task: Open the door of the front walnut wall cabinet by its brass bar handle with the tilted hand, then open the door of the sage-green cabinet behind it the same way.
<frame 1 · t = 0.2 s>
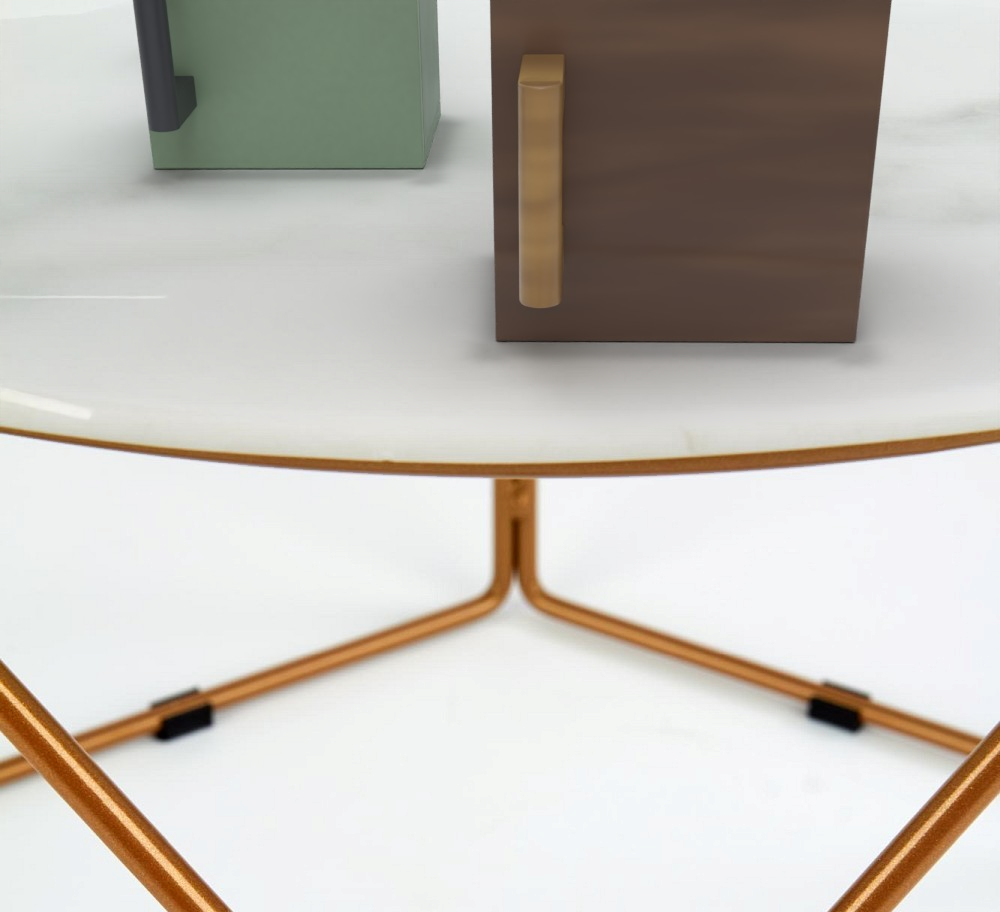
near cabinet: (669, 292, 76), on the table
decorative object: (748, 104, 105), on the table
near door: (685, 178, 65), point 7 cm above the table, hinge at 0.0°
far cabinet: (305, 140, 99), on the table
far door: (269, 35, 87), point 7 cm above the table, hinge at 0.0°
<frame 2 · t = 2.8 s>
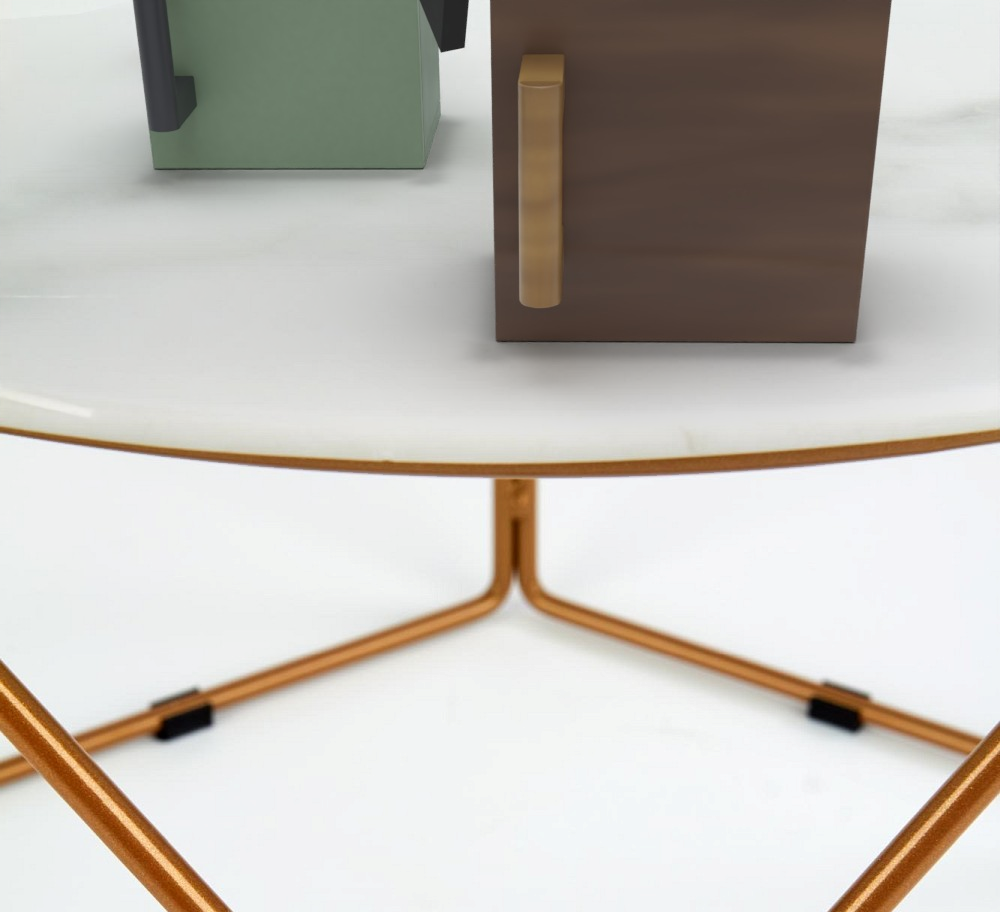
nothing on the table moved.
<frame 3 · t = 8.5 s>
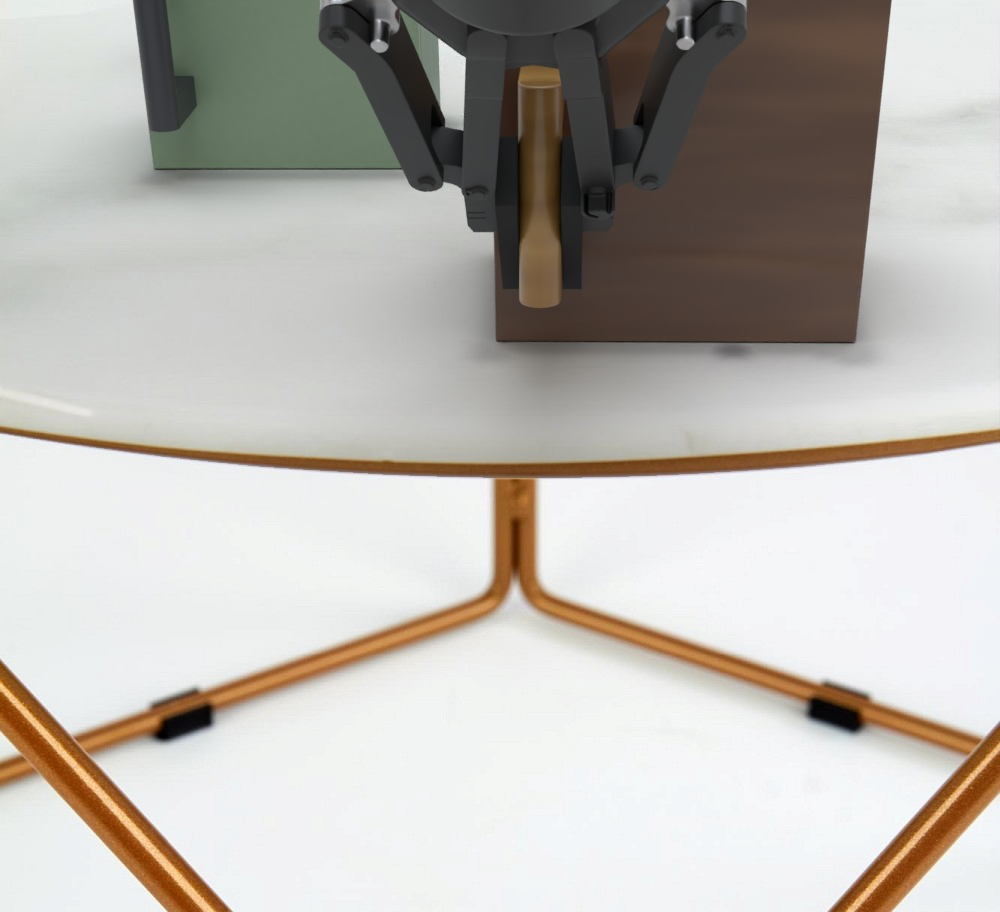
hand: (542, 256, 68), 4 cm above the table, tool tilted 45°, fingers closed on near door, 2 cm apart
near door: (685, 178, 65), point 7 cm above the table, hinge at 0.0°, touching gripper
everything else where it was.
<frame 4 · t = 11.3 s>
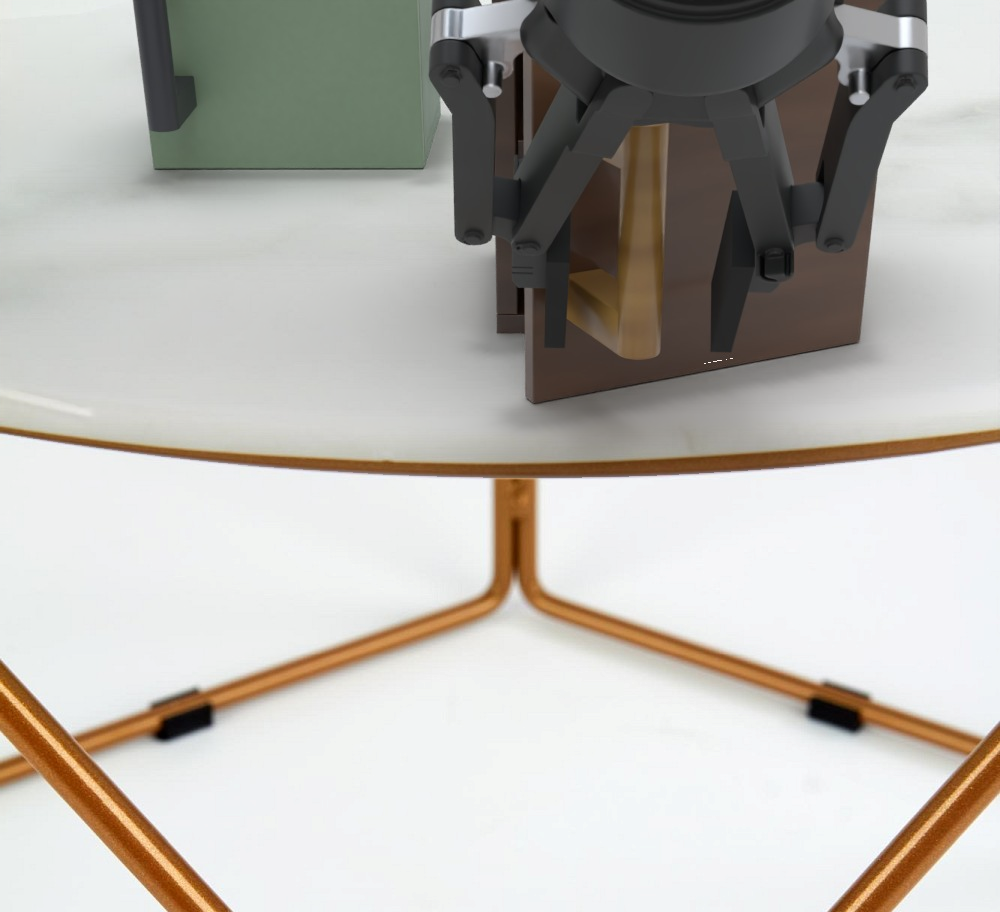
hand: (638, 314, 62), 4 cm above the table, tool tilted 45°, fingers open, 5 cm apart
near door: (744, 202, 62), point 7 cm above the table, hinge at 26.9°, touching gripper
everything else where it was.
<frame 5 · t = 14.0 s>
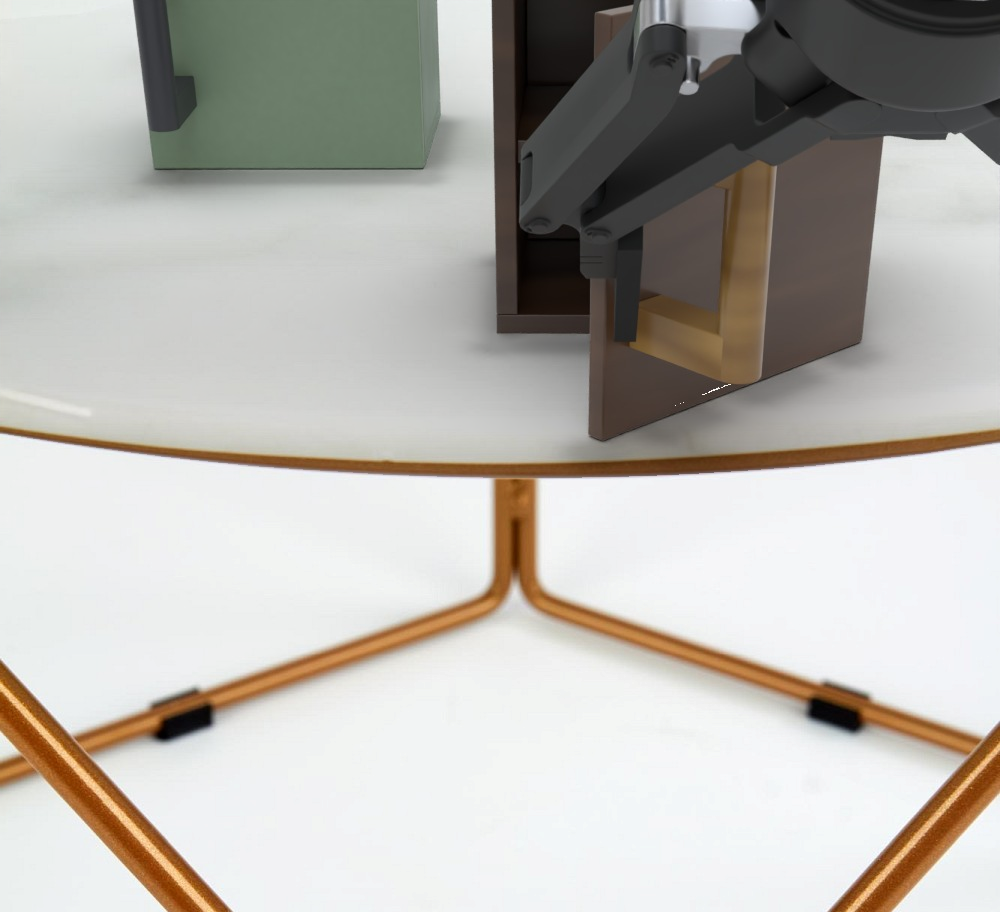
hand: (824, 306, 58), 6 cm above the table, tool tilted 45°, fingers open, 13 cm apart
near door: (800, 212, 61), point 7 cm above the table, hinge at 43.9°, touching gripper
everything else where it was.
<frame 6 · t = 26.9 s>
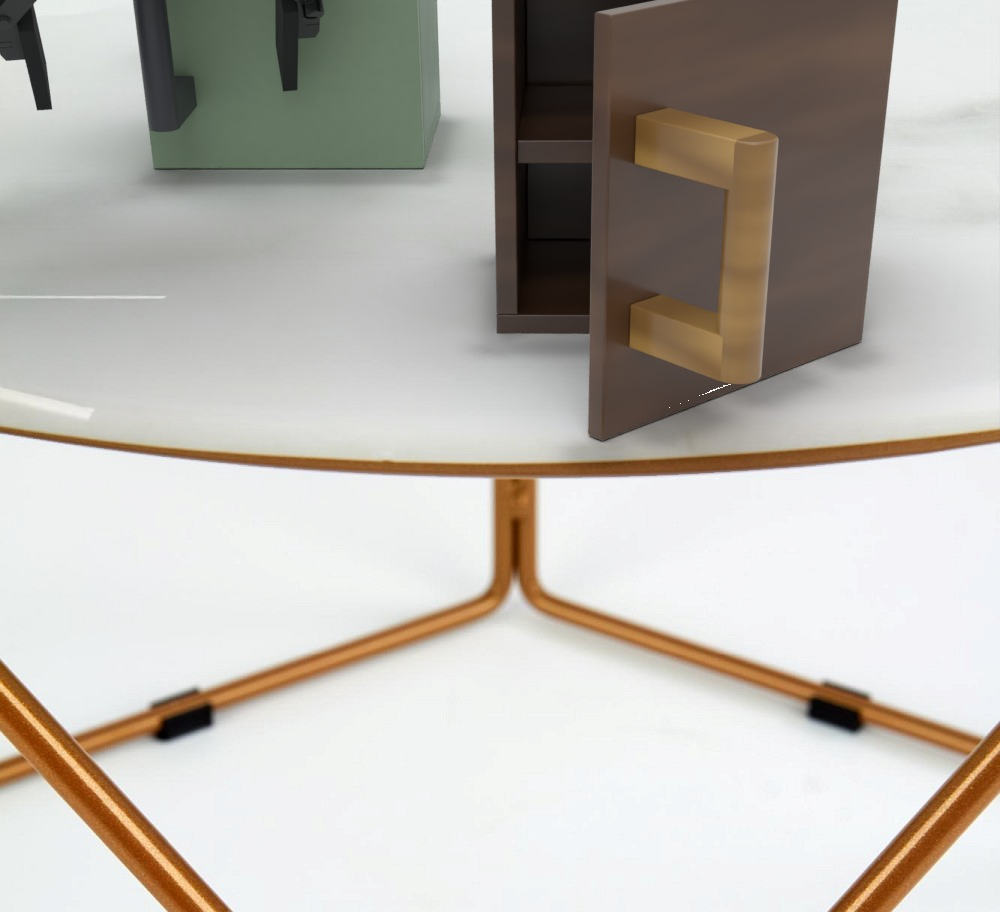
hand: (165, 77, 88), 6 cm above the table, tool tilted 45°, fingers open, 12 cm apart
near door: (800, 212, 61), point 7 cm above the table, hinge at 43.9°
far door: (269, 35, 87), point 7 cm above the table, hinge at -0.1°, touching gripper
everything else where it was.
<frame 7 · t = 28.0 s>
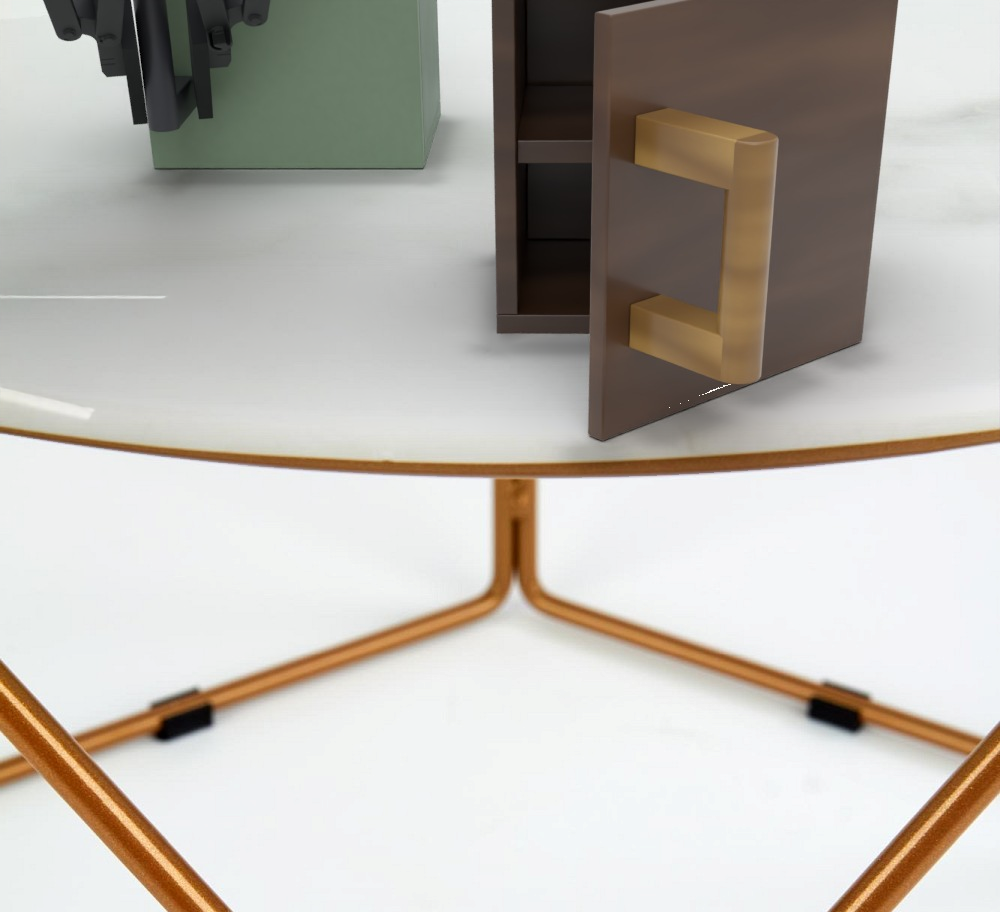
hand: (169, 97, 90), 4 cm above the table, tool tilted 45°, fingers closed on far door, 3 cm apart
far door: (269, 35, 87), point 7 cm above the table, hinge at -0.2°, touching gripper
everything else where it was.
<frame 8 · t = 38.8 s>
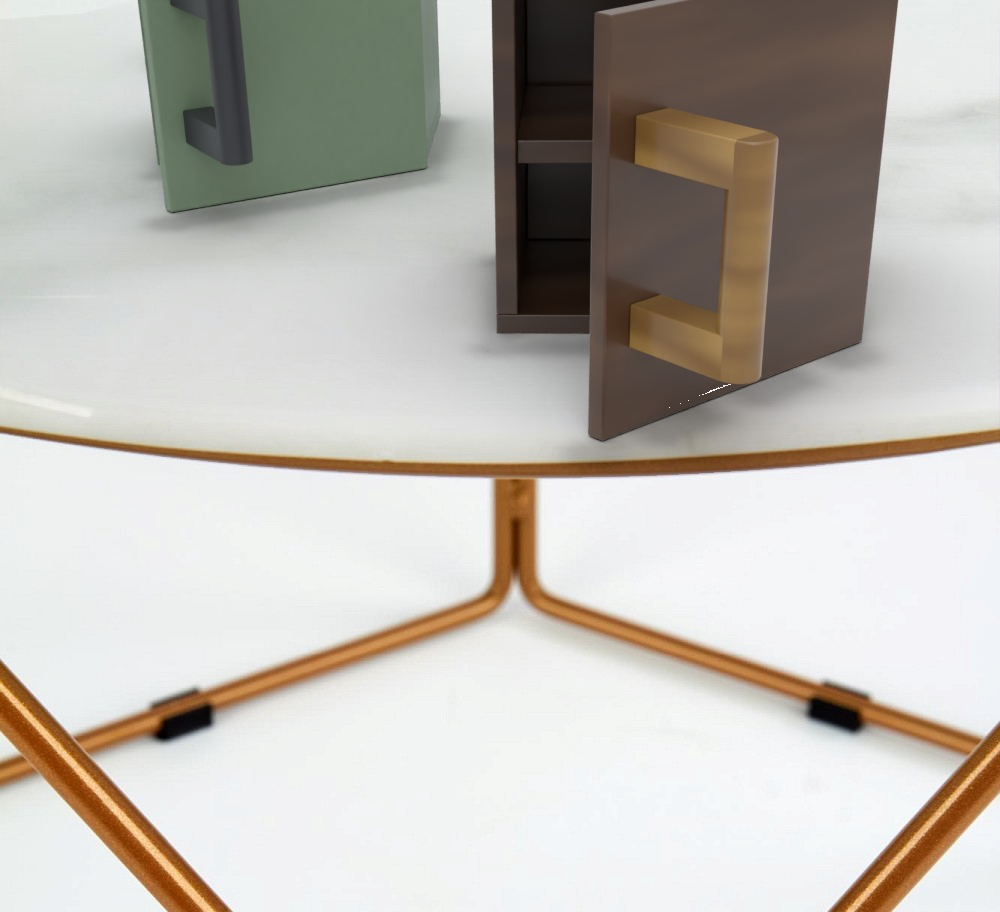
far door: (311, 51, 84), point 7 cm above the table, hinge at 33.4°
everything else where it was.
at the end: near door at +44° (first picture: +0°); far door at +33° (first picture: +0°) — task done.
